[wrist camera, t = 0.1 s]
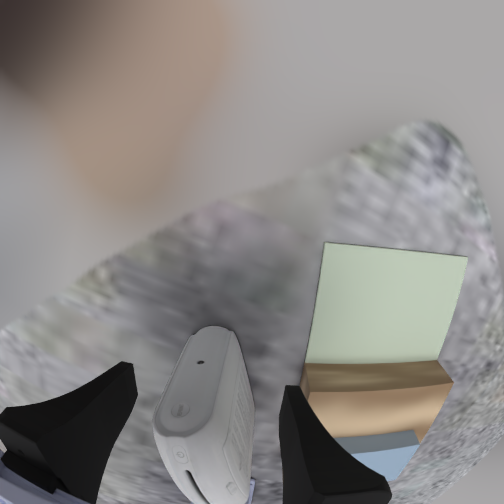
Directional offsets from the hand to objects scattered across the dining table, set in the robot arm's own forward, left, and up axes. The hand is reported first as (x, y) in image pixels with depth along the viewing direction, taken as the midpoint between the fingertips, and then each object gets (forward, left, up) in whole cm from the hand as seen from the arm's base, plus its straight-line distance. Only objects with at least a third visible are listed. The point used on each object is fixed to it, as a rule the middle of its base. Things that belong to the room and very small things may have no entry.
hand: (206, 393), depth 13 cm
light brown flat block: (-12, -13, -10) cm, 20 cm away
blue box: (-13, -13, -6) cm, 19 cm away
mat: (0, -13, -10) cm, 16 cm away
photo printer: (-7, 0, -10) cm, 12 cm away
